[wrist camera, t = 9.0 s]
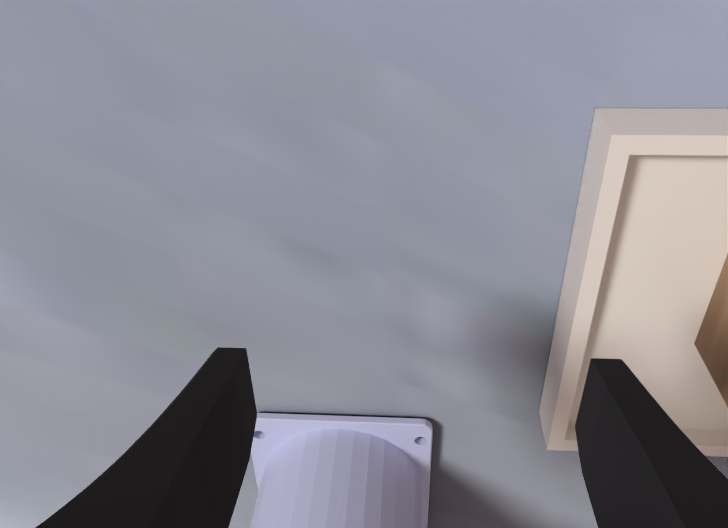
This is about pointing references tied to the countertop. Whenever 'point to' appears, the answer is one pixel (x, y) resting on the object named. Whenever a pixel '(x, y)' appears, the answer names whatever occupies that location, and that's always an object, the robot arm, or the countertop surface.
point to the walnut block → (716, 334)
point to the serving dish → (644, 268)
